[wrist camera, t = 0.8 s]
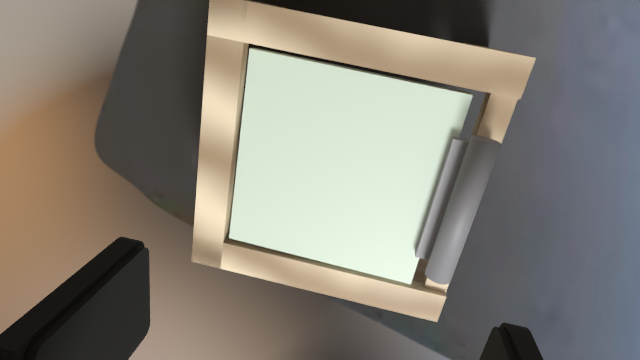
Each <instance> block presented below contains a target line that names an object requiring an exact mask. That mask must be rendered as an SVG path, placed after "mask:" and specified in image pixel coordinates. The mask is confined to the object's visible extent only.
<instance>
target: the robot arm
mask: <svg viewBox="0 0 640 360" xmlns="http://www.w3.org/2000/svg"><path fill="white" fill-rule="evenodd" d="M149 287H150V285H149V250H148V248H145V247H144V244H143V242H141V241H138V240H134V239H129V238H125V237H120V238H118V239H116V240H115V241H114V242H113V243H112V244H110V245H109V246H108V247H107V248H106V249H104V250H103V251H102V252H100V253H99V254H98V255H97V256H96V257H94V258H93V259H92V260H91V261H89V262H88V263H87V264H86V265H85V266H84V267H82V268H81V269H80V270H78V271H77V272H76V273H75V274H74V275H72V276H71V277H70V278H69V279H67V280H66V281H65V282H64V283H63V284H61V285H60V286H59V287H58V288H56V289H55V290H54V291H53V292H52V293H50V294H49V295H48V296H47V297H45V298H44V299H43V300H42V301H41V302H39V303H38V304H37V305H36V306H34V307H33V308H32V309H31V310H30V311H28V312H27V313H26V314H25V315H24V316H23V317H21V318H20V319H18V320H17V321H16V322H15V323H14V324H12V325H11V326H10V327H9V328H7V329H6V330H5V331H4V332H3V333H1V334H0V360H128V359H129V357H130V356H131V355H132V353H133V352H134V351H135V350H136V348H137V347H138V346H139V344H140V343H141V341H142V340H143V339H144V338H145V336H146V334H147V332H148V330H149V326H150V288H149ZM480 360H543V358H542V356H541V354H540V351H539V349H538V347H537V345H536V343H535V341H534V338H533V336H532V334H531V332H530V330H529V329H528V328H526V327H522V326H517V325H513V324H508V323H502V324H501V325H500V327H494V328H493V329H492V331H491V333H490V336H489V338H488V340H487V343H486V345H485V348H484V350H483V352H482V355H481V357H480Z"/></svg>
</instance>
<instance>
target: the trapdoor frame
mask: <svg viewBox="0 0 640 360" xmlns="http://www.w3.org/2000/svg"><path fill="white" fill-rule="evenodd" d="M249 44H254V45H259V46H264V47H268V48H273V49H278V50H283V51H288V52H293V53H298V54H303V55H307V56H312V57H317V58H322V59H327V60H332V61H337V62H342V63H346V64H351V65H356V66H361V67H366V68H371V69H376V70H380V71H385V72H390V73H395V74H400V75H405V76H410V77H415V78H419V79H424V80H429V81H434V82H439V83H444V84H449V85H454V86H458V87H463V88H468V89H473V90H478V91H483V92H486V94H485V97H484V100H483V103H482V106H481V109H480V112H479V115H478V118H477V121H476V124H475V127H474V130H473V133H472V135H477V136H483V137H487V138H491V139H493V140H496V141H498V142H500V143H502V140H503V138H504V135H505V132H506V130H507V127H508V124H509V122H510V119H511V116H512V113H513V111H514V108H515V105H516V103H517V100H518V99H521V97H522V94H523V91H524V89H525V86H526V83H527V81H528V78H529V75H530V73H531V70H532V67H533V65H534V62H535V59H536V58H533V57H529V56H524V55H520V54H515V53H511V52H507V51H502V50H498V49H494V48H489V47H484V46H479V45H474V44H469V43H464V42H463V43H458V42H453V41H448V40H442V39H437V38H432V37H427V36H422V35H417V34H412V33H407V32H402V31H397V30H392V29H387V28H382V27H377V26H372V25H367V24H362V23H357V22H351V21H346V20H341V19H336V18H331V17H326V16H321V15H316V14H311V13H306V12H301V11H296V10H291V9H286V8H285V7H282V6H277V5H272V4H267V3H261V2H256V1H250V0H209V15H208V29H207V44H206V58H205V73H204V88H203V102H202V117H201V131H200V146H199V161H198V175H197V190H196V205H195V219H194V234H193V248H192V262H196V263H200V264H204V265H208V266H212V267H216V268H220V269H224V270H228V271H232V272H236V273H240V274H245V275H249V276H253V277H257V278H261V279H265V280H269V281H273V282H277V283H281V284H285V285H289V286H293V287H297V288H301V289H306V290H309V291H314V292H317V293H321V294H325V295H330V296H334V297H338V298H342V299H346V300H350V301H354V302H358V303H362V304H366V305H370V306H374V307H378V308H382V309H386V310H390V311H394V312H398V313H402V314H407V315H411V316H415V317H419V318H423V319H427V320H431V321H435V322H437V321H438V318H439V315H440V313H441V310H442V307H443V305H444V302H445V299H446V291H447V288H448V285H449V284H445V285H442V284H438V283H435V282H433V281H431V280H430V279H428V278H427V276H426V275H425V270H426V267H427V264H428V261H429V260H426V259H422V258H419V261H418V264H417V267H416V270H415V273H414V276H413V279H412V283H411V284H407V283H403V282H399V281H395V280H391V279H387V278H383V277H380V276H376V275H372V274H368V273H364V272H360V271H356V270H352V269H348V268H344V267H340V266H336V265H332V264H329V263H325V262H321V261H317V260H313V259H309V258H305V257H301V256H297V255H293V254H289V253H285V252H281V251H277V250H274V249H270V248H266V247H262V246H258V245H254V244H250V243H246V242H242V241H238V240H234V239H230V238H229V233H230V224H231V215H232V205H233V196H234V193H233V186H234V177H235V168H236V158H237V149H238V140H239V130H240V121H241V112H242V102H243V93H244V84H245V74H246V65H247V56H248V46H249Z"/></svg>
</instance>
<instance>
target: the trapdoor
mask: <svg viewBox="0 0 640 360" xmlns="http://www.w3.org/2000/svg"><path fill="white" fill-rule="evenodd" d="M472 97H473V95H472V94H471V93H470V92H465V91H460V90H456V89H451V88H446V87H441V86H437V85H432V84H427V83H422V82H417V81H413V80H408V79H403V78H398V77H393V76H389V75H384V74H379V73H374V72H369V71H365V70H360V69H355V68H350V67H345V66H341V65H336V64H331V63H326V62H321V61H317V60H312V59H307V58H302V57H298V56H293V55H288V54H283V53H278V52H274V51H269V50H264V49H259V48H249V58H248V67H247V76H246V85H245V95H244V104H243V113H242V122H241V131H240V141H239V150H238V159H237V168H236V178H235V187H234V196H233V205H232V215H231V224H230V233H229V238H230V239H234V240H238V241H242V242H246V243H250V244H254V245H258V246H262V247H266V248H270V249H274V250H277V251H281V252H285V253H289V254H293V255H297V256H301V257H305V258H309V259H313V260H317V261H321V262H325V263H329V264H332V265H336V266H340V267H344V268H348V269H352V270H356V271H360V272H364V273H368V274H372V275H376V276H380V277H383V278H387V279H391V280H395V281H399V282H403V283H407V284H411V283H412V279H413V276H414V273H415V270H416V267H417V264H418V261H419V258H422V259H426V260H429V261H428V264H427V267H426V270H425V275H426V276H427V278H428V279H430V280H431V281H433V282H435V283H438V284H442V285H445V284H449V283H450V281H451V278H452V276H453V273H454V270H455V268H456V265H457V262H458V260H459V257H460V254H461V252H462V249H463V246H464V244H465V241H466V238H467V236H468V233H469V230H470V228H471V225H472V222H473V220H474V217H475V214H476V211H477V209H478V206H479V203H480V201H481V198H482V195H483V193H484V190H485V187H486V185H487V182H488V179H489V177H490V174H491V171H492V169H493V166H494V163H495V161H496V158H497V155H498V153H499V150H500V147H501V143H500V142H498V141H496V140H493V139H491V138H487V137H483V136H477V135H472V136H471V138H470V140H466V139H462V138H459V136H460V133H461V130H462V127H463V124H464V121H465V118H466V115H467V112H468V109H469V106H470V103H471V100H472Z"/></svg>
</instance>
